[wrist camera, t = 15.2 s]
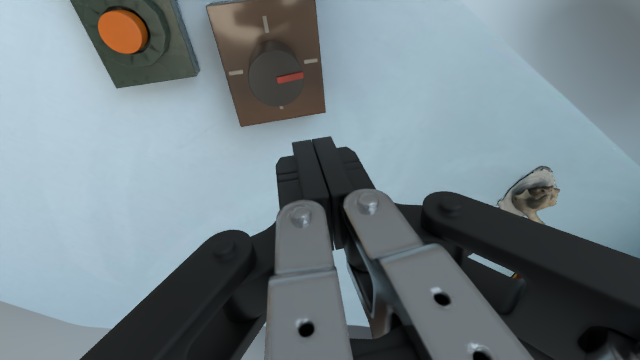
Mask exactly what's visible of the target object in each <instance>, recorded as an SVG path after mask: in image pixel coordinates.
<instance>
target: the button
mask: <svg viewBox="0 0 640 360" xmlns="http://www.w3.org/2000/svg"><path fill="white" fill-rule="evenodd" d="M98 30H99V34H100V36H101V38H102V39H103V41H104V42H105V43H106V44H107V45H108V46H109V47H110V48H112V49H113V50H115V51H117V52H119V53H123V54H131V53H134V52H136V51H138V50H139V49H141V48H143V47H144V46H145V44H146V43H147V40H148V32H147V29H146V27H145V25H144V23H143V22H142V20H141V19H140V18H139V17H138V16H136V15H135V14H134V13H132V12H130V11H127V10H122V9H118V10H114V11H110V12H106V13H104V14H103V15H102V16H101V17H100V19H99V21H98Z"/></svg>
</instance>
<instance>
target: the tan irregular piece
mask: <svg viewBox="0 0 640 360" xmlns="http://www.w3.org/2000/svg"><path fill="white" fill-rule="evenodd" d="M542 168H544V169H543V170H541V169H542ZM536 170H538V171H535V170H534V173H531V174H530V175H529V176H527V177H526V178H524V179H522V180H521V181H519V183H517V184H516V185H515V187H513V188H512V189H511V190H510V191H509V192H508V193H507V195H506V197H504V200H502V201H501V200H500V201H499V202H498V204H499V207H500V209H502V210H505V211H508V212H511V213H513V214H516V215H519V216H522V217H523V216H525V215H526V216H527V217H528V218H529V219H530V220H533V221H536V222H539V223H541V224H544V225H545V223H543V221H541V220H540V219H539V218H538V216H537V214H536V211H538V210H540V209H544V208H546V207H549V206H554V205H555V204H556V202H557V201H556V199H557V196H558V193H559V192H560V189H557V188H556V187H555V186H556V184H555V180H554V177H553V175H552V172H553V171H551V170H550V168H549V167H543V166H542V167H539V168H537V169H536Z"/></svg>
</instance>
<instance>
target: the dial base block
mask: <svg viewBox="0 0 640 360" xmlns="http://www.w3.org/2000/svg"><path fill="white" fill-rule="evenodd" d="M206 9H207V12H208V16H209V19H210V23H211V26H212V30H213V33H214V37H215V40H216V43H217V47H218V50H219V54H220V57H221V61H222V64H223V68H224V71H225V74H226V78H227V81H228V85H229V88H230V92H231V95H232V99H233V102H234V105H235V109H236V112H237V116H238V119H239V123H240V126H241V127H243V126H249V125H255V124H261V123H267V122H273V121H279V120H284V119H290V118H296V117H302V116H308V115H314V114H320V113H325V112H326V110H325V99H324V89H323V78H322V67H321V57H320V46H319V35H318V25H317V14H316V3H315V0H232V1H224V2H217V3H210V4H209V5H207V6H206ZM270 40H275V41H280V42H282V43H284V44H286V45H287V46H288V47H290V48H291V49H292V51H293V52H294V54H295V56H296V58H297V60H298V62H299V64H300V66H301V68H302V71H303V75H304V84H303V88H302V91H301V93H300V94H299V96H298V97H297V98H296V99H295V100H294V101H293V102H291V103H290V104H287V105H284V106H279V107H275V106H269V105H266V104H264V103H262V102H261V101H259V100H258V99H257V98H256V97H255V96H254V94H253V93H252V91H251V89H250V87H249V83H248V69H249V59H250V56H251V53H252V51H253V50H254V49H255V47H257V46H258V45H259V44H261V43H262V42H265V41H270Z"/></svg>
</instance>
